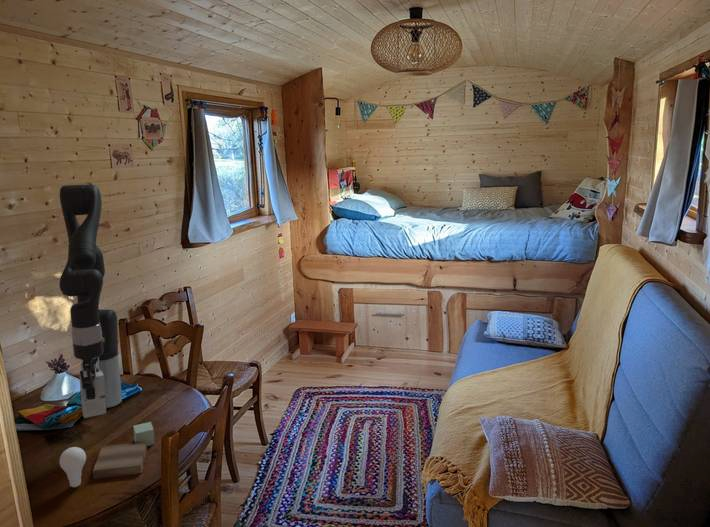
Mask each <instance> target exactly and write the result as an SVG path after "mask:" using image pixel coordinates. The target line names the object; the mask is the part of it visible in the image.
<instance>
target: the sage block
mask: <svg viewBox="0 0 710 527" xmlns="http://www.w3.org/2000/svg"><path fill="white" fill-rule="evenodd" d="M132 429H133V430H132V431H133V441H134V443H138V442H147V447H150V446H154V445H155V431H154V430H155V429H154V426H153V424H152V422H151V421H147V422H143V423H140V424H135V425H133V426H132ZM153 444H154V445H153Z"/></svg>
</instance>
